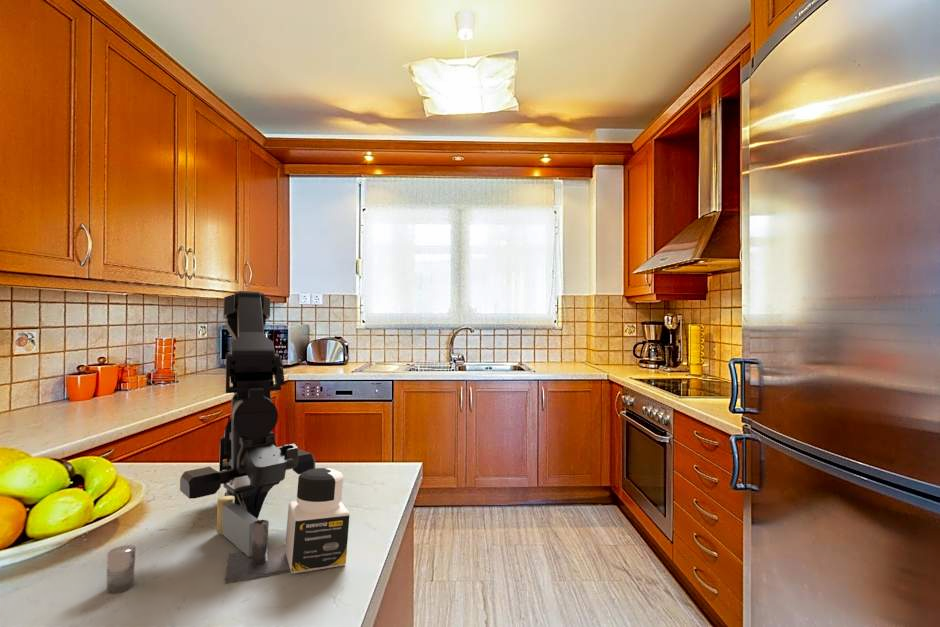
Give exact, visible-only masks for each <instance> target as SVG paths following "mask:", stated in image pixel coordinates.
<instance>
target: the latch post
mask: <svg viewBox="0 0 940 627" xmlns="http://www.w3.org/2000/svg"><path fill="white" fill-rule="evenodd" d="M106 562H107V564H106V588H105V589H106V591H105V592H106V593H107V594H119V593H123V592H125V591H129V590H130V589H132V588H133V587H134V586H135V575H136V572H135V569H136V568H135V567H136V546H135V545H132V544H130V545H121V546H117V547H114V548H112V549H110V550H109V551H107V561H106Z"/></svg>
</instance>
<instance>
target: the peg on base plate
mask: <svg viewBox="0 0 940 627" xmlns="http://www.w3.org/2000/svg"><path fill="white" fill-rule="evenodd" d="M258 520H259V521H256V522H254V523H253V533H252V556H249V557H248V556H247V555H246V554H245V553H244V552H242V551H241V550H240V551H236V552H229V553H228V557H227V558H228V559H227V566H226V572H225V579H224V584H230V583H235V582H242V581H247V580H254V579H258V578H263V577H270V576H274V574H275V575H280V573H281V574H286V573H289V572H288V571H291V570H290V567H289V563H288V560H287V557H286V553H285V544H279V545H273V546H272V545H271V546H269V525H270V524H269V520H268V519H258ZM285 572H286V573H285ZM269 575H270V576H269Z"/></svg>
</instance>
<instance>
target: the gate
mask: <svg viewBox="0 0 940 627" xmlns="http://www.w3.org/2000/svg"><path fill="white" fill-rule="evenodd" d="M216 501H217V502H216V503H217V507H216V508H217V509H216V510H217V512H216V534H218V535H219V534H220V535H223V536H224V537H225V538H227V540H228V541H229V542H231V543H232V544H233V545H234V546H235V547H237V548H238V549H239V550H240V552H241V551H242V552H244V553H245V554H246V555H247V556H248V557H249V556H252V533H253V523H254V522H256V521H259V520H260V519H259V518H258V519H257V518H255V517H254V516H253V515H251V514H250V513H248V512H247V511H245V510H244V509H243V508H242V507H241V505H239V504H235V503H234V502H235V497H234V496H224V495H223V496H220V497H218V498H217V500H216Z"/></svg>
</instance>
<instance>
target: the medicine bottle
mask: <svg viewBox="0 0 940 627" xmlns="http://www.w3.org/2000/svg"><path fill="white" fill-rule="evenodd" d="M297 479H298V480H297V489H296V490H297V493H296V500H292V501H290V502H288V510H287V520H286V530H285V531H286V532H285V533H286V534H285V544H284V545H285V553H286V557H287V560H288V563H289V567H290V570H291V572H290V573H291V574H298V573H304V572H312V571H317V570H324V569H333V568H338V567H343V566H345V565H346V564H347V556H348V543H349V542H348V540H349V526H350V512H349V510H348V509H347V508H346V506H345V505H344V503H343V501H342V500H343V499H342V498H343V484H344V475H343V473H342V472H340V471H338V470H336V469H333V468H328V467H317V468H316V467H315V469H310V470H307V471H305V472H303V473H301V474H299V476H298V478H297Z"/></svg>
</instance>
